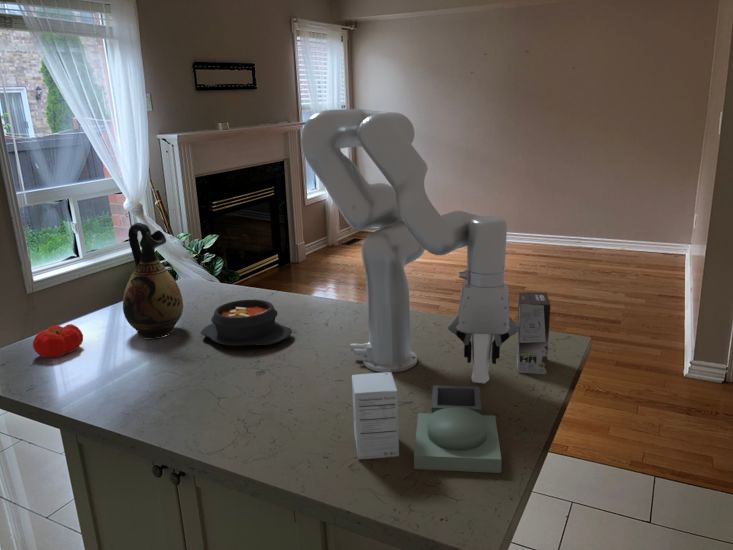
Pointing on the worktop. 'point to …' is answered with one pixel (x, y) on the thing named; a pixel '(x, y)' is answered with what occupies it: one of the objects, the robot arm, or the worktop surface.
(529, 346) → the coffee box
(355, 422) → the supplement box
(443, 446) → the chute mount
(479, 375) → the perfume bottle
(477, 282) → the robot arm
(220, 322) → the casserole
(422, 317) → the worktop surface
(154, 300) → the ceramic jug
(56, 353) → the tomato
